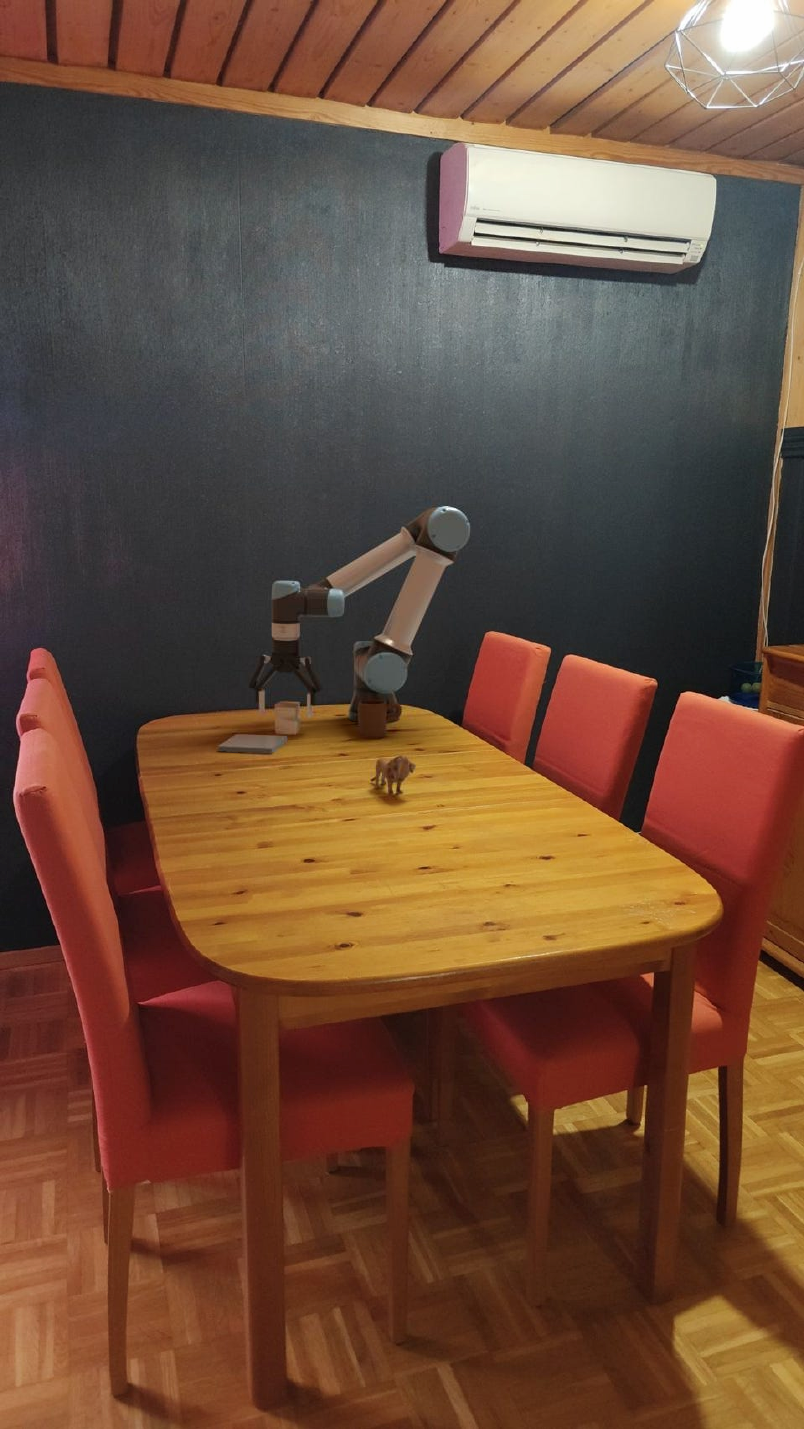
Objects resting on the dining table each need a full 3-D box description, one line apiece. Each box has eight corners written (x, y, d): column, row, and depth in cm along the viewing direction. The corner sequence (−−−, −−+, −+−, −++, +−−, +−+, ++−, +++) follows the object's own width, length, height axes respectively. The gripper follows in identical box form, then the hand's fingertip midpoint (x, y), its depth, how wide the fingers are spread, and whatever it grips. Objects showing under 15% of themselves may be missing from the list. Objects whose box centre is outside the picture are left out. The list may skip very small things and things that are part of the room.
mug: (399, 731, 266) (399, 698, 265) (404, 737, 259) (405, 703, 257) (356, 733, 264) (356, 700, 262) (360, 739, 257) (360, 705, 255)
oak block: (280, 729, 269) (280, 701, 267) (300, 730, 268) (299, 701, 266) (275, 733, 263) (274, 705, 262) (294, 734, 263) (294, 705, 261)
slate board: (236, 739, 257) (236, 734, 256) (287, 741, 255) (287, 736, 254) (218, 751, 243) (218, 746, 243) (271, 754, 241) (271, 748, 241)
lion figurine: (418, 796, 205) (419, 755, 204) (398, 800, 202) (398, 759, 201) (380, 781, 217) (380, 742, 215) (360, 784, 214) (360, 745, 212)
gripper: (236, 638, 259) (237, 715, 263) (327, 642, 255) (326, 720, 259) (245, 634, 266) (246, 710, 270) (333, 638, 262) (333, 715, 266)
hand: (285, 715), depth 265 cm, fingers open, 13 cm apart
